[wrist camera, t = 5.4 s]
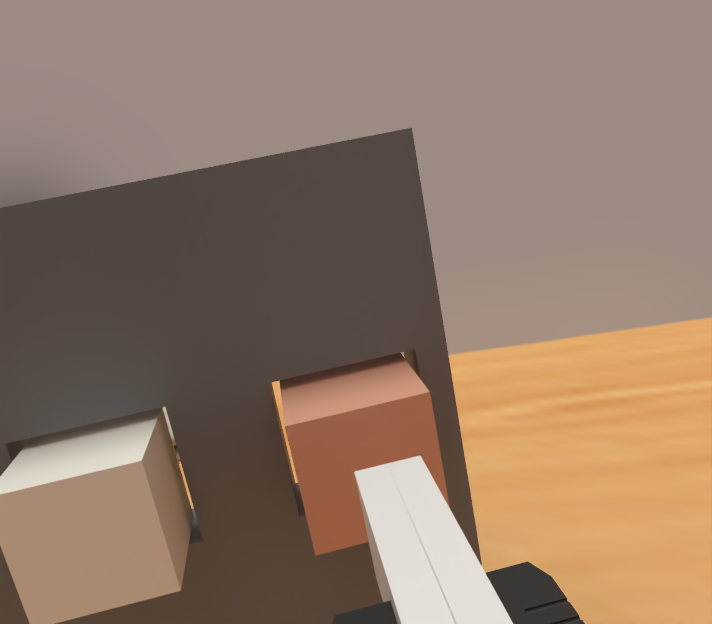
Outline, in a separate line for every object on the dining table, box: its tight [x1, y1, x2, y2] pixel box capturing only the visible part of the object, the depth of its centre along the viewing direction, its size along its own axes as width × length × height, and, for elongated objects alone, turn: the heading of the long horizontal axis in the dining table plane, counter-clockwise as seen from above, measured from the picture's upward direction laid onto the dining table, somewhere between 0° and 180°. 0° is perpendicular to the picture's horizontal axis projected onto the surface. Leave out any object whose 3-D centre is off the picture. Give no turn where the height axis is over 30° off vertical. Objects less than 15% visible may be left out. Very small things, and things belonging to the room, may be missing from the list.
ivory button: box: [0, 407, 193, 624], centre depth 17 cm, size 4×4×4 cm
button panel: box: [0, 128, 482, 624], centre depth 22 cm, size 20×9×18 cm, turn 99°
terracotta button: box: [280, 353, 450, 556], centre depth 18 cm, size 4×4×4 cm
